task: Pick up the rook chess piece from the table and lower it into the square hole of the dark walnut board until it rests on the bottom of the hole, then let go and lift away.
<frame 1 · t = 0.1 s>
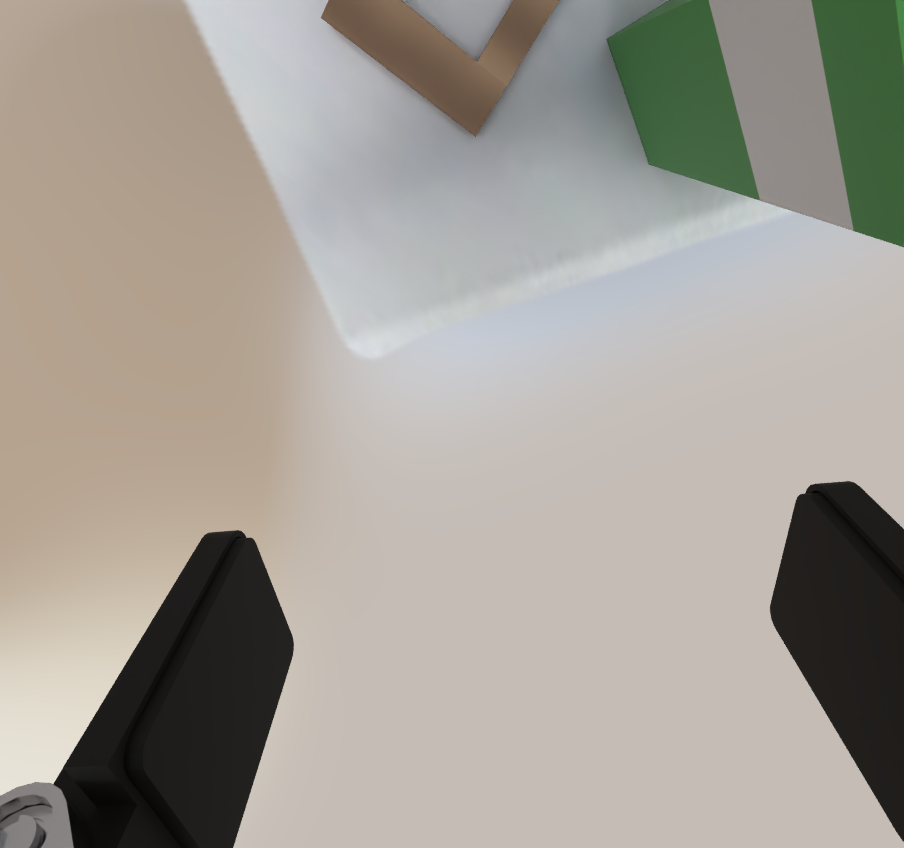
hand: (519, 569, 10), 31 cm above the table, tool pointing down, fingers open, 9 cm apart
hardback book: (778, 16, 31), on the table
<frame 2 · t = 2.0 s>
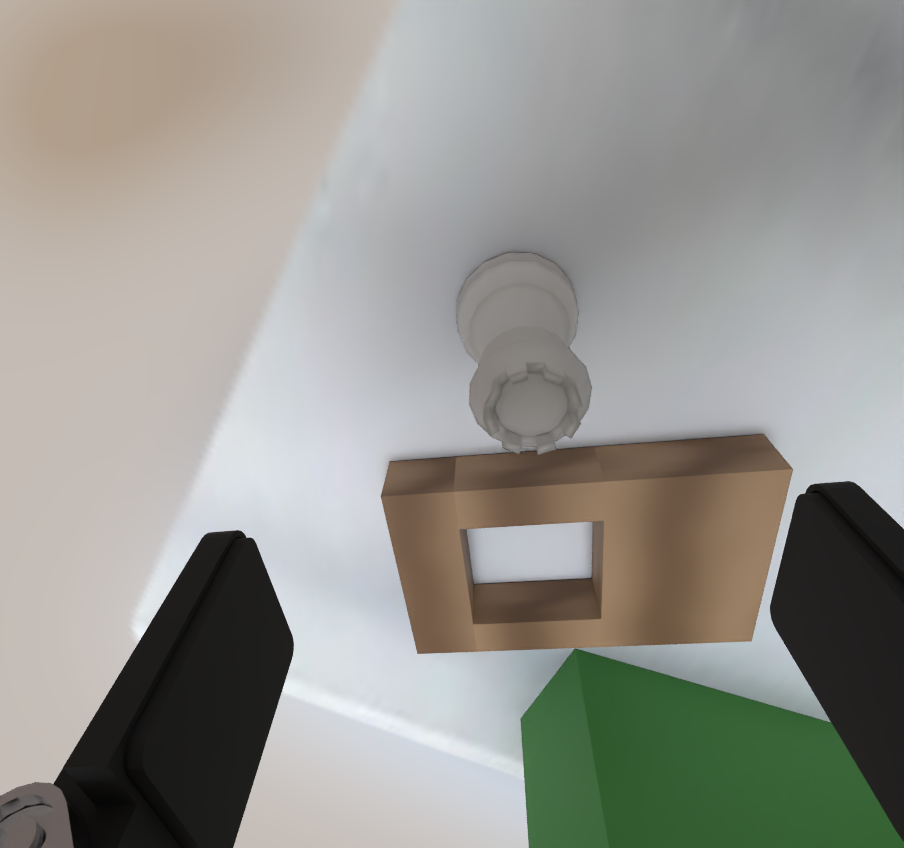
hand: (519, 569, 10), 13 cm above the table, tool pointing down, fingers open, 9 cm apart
socket board: (571, 535, 26), on the table
rook chess piece: (514, 307, 21), on the table
hardback book: (676, 718, 34), on the table
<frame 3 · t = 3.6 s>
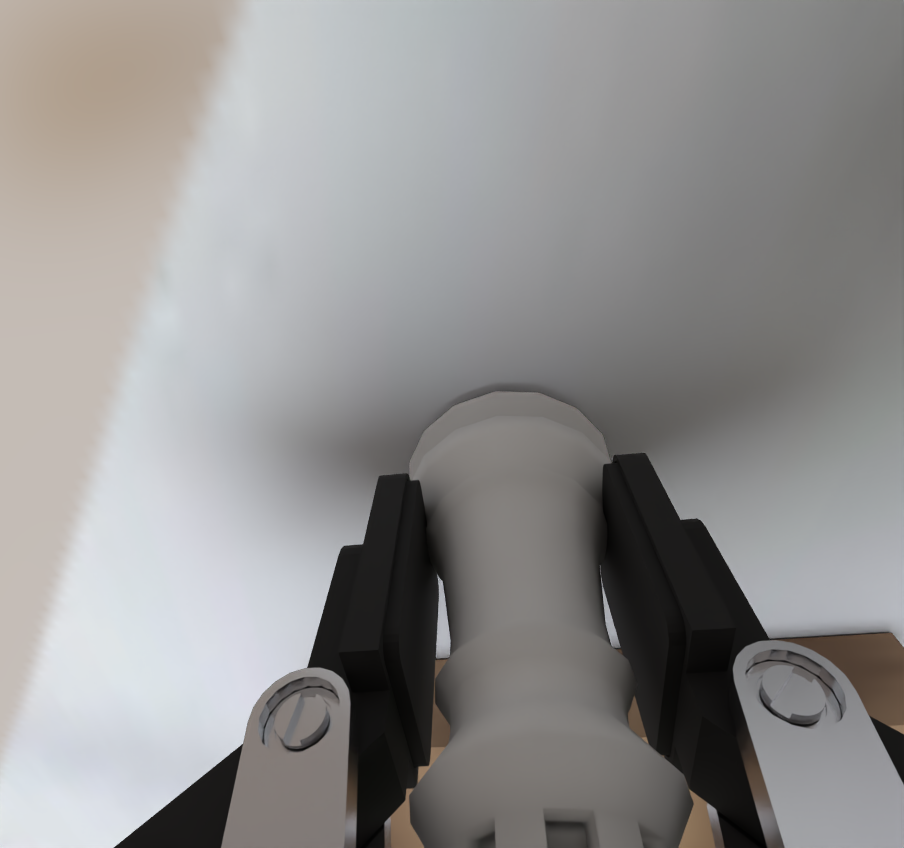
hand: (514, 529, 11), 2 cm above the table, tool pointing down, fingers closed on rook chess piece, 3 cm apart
socket board: (592, 750, 18), on the table
rook chess piece: (507, 463, 13), on the table, touching gripper
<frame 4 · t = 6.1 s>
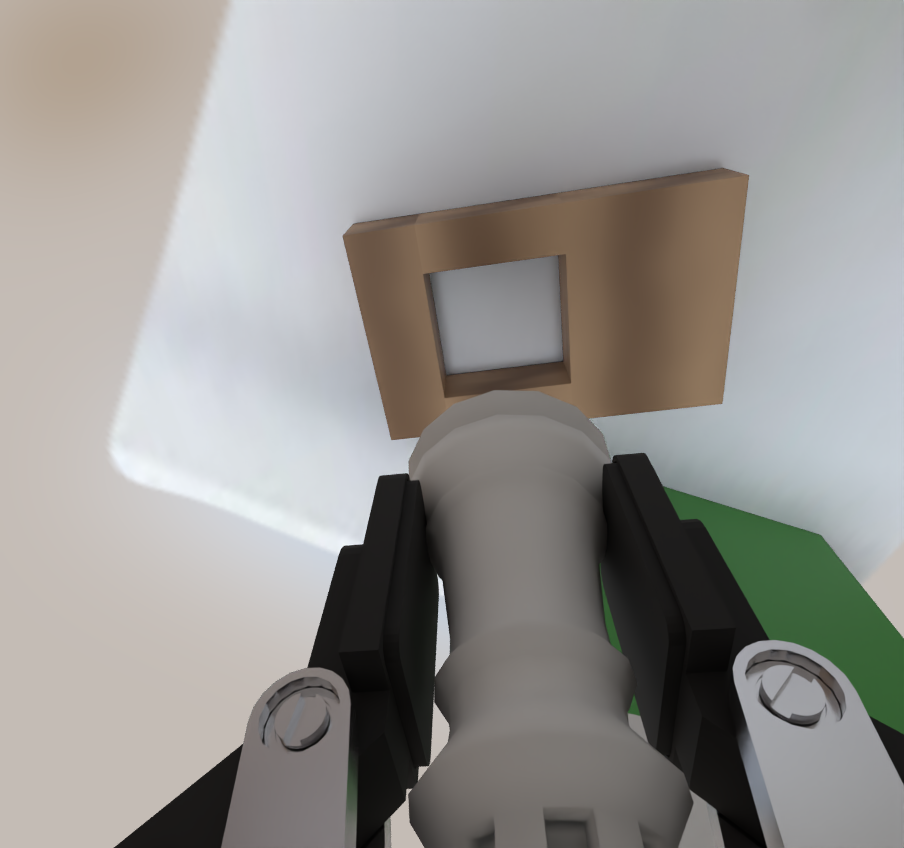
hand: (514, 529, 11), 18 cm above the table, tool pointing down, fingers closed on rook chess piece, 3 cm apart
socket board: (539, 307, 26), on the table
rook chess piece: (506, 462, 13), point 15 cm above the table, touching gripper
hardback book: (658, 537, 34), on the table
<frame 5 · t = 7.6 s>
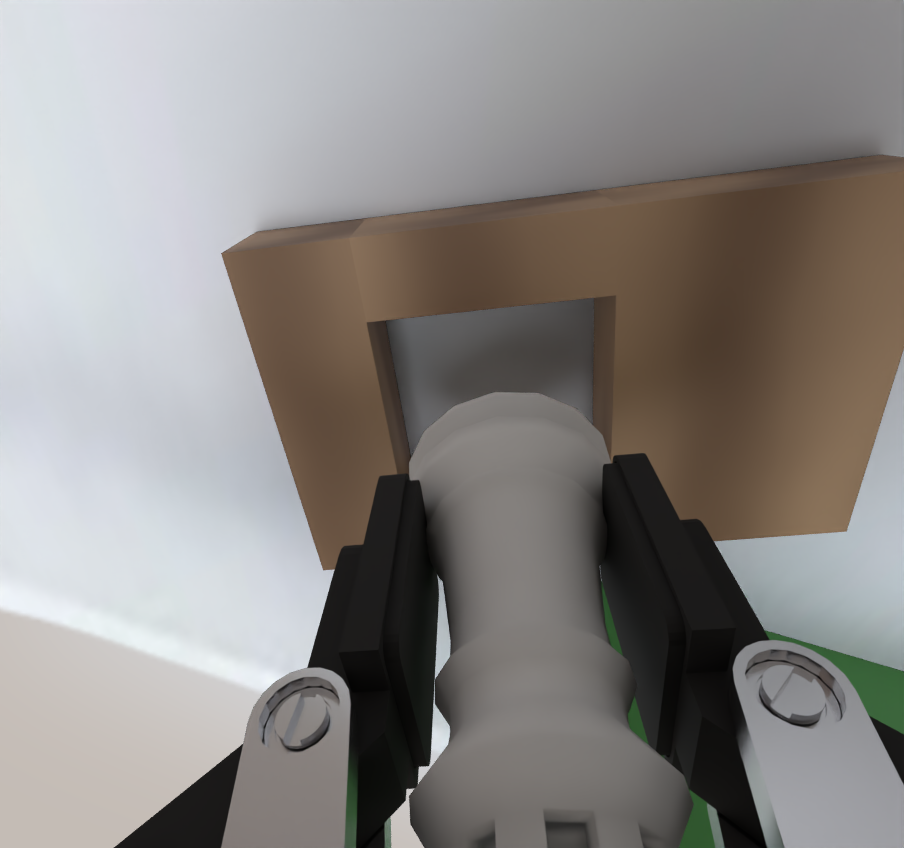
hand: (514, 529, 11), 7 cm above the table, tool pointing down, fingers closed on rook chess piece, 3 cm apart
socket board: (560, 370, 17), on the table
rook chess piece: (507, 463, 13), point 5 cm above the table, touching gripper
hardback book: (709, 679, 24), on the table
when the fingers open (3 cm above the table, at t = 8.7 s): rook chess piece drops 1 cm, resting in socket board.
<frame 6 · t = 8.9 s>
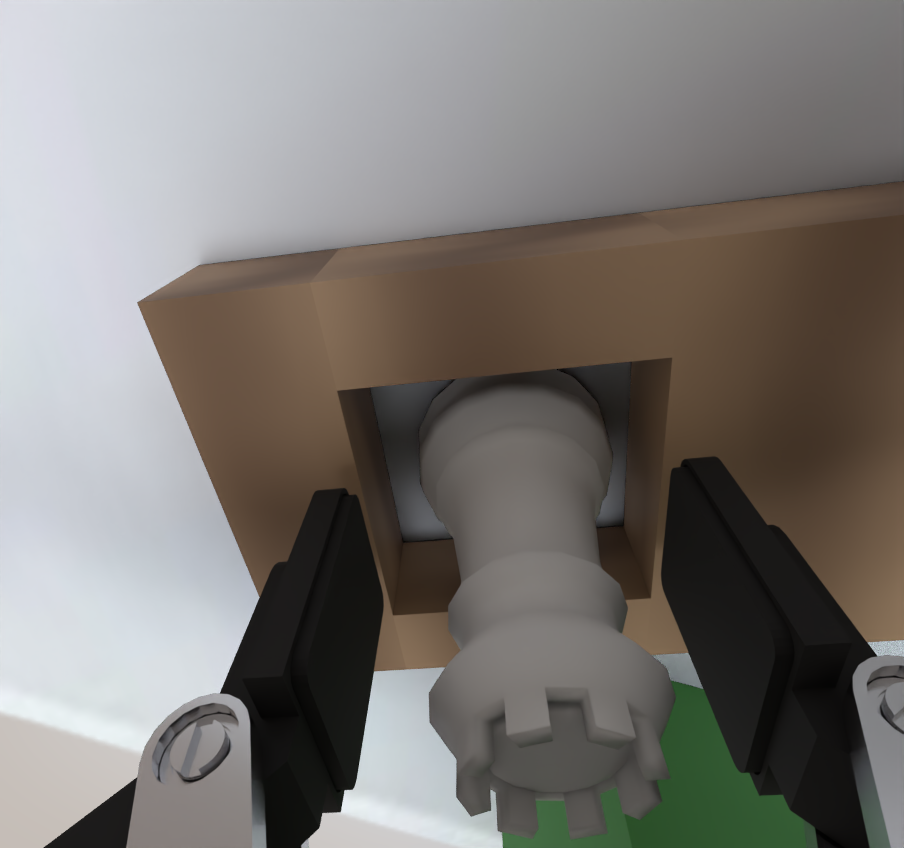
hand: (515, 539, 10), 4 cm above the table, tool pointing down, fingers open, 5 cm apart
socket board: (586, 434, 13), on the table
rook chess piece: (509, 432, 14), resting in socket board
hardback book: (750, 768, 21), on the table
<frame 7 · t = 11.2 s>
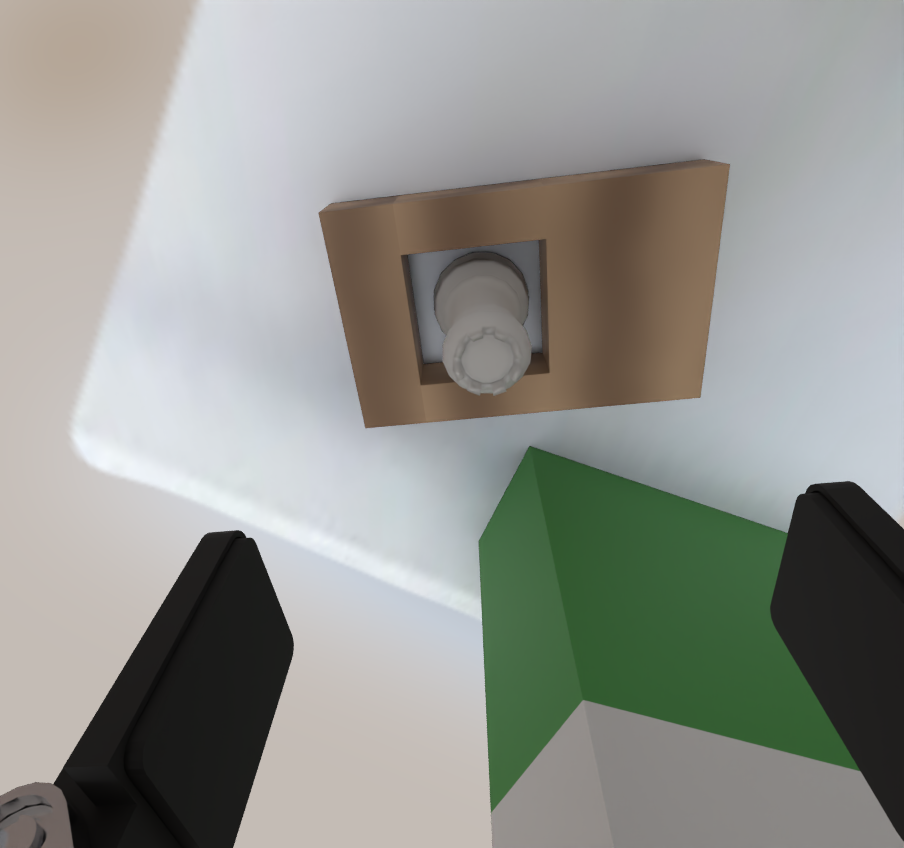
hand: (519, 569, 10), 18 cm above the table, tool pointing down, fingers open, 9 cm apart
socket board: (519, 295, 26), on the table
rook chess piece: (480, 296, 26), resting in socket board
hardback book: (634, 536, 34), on the table
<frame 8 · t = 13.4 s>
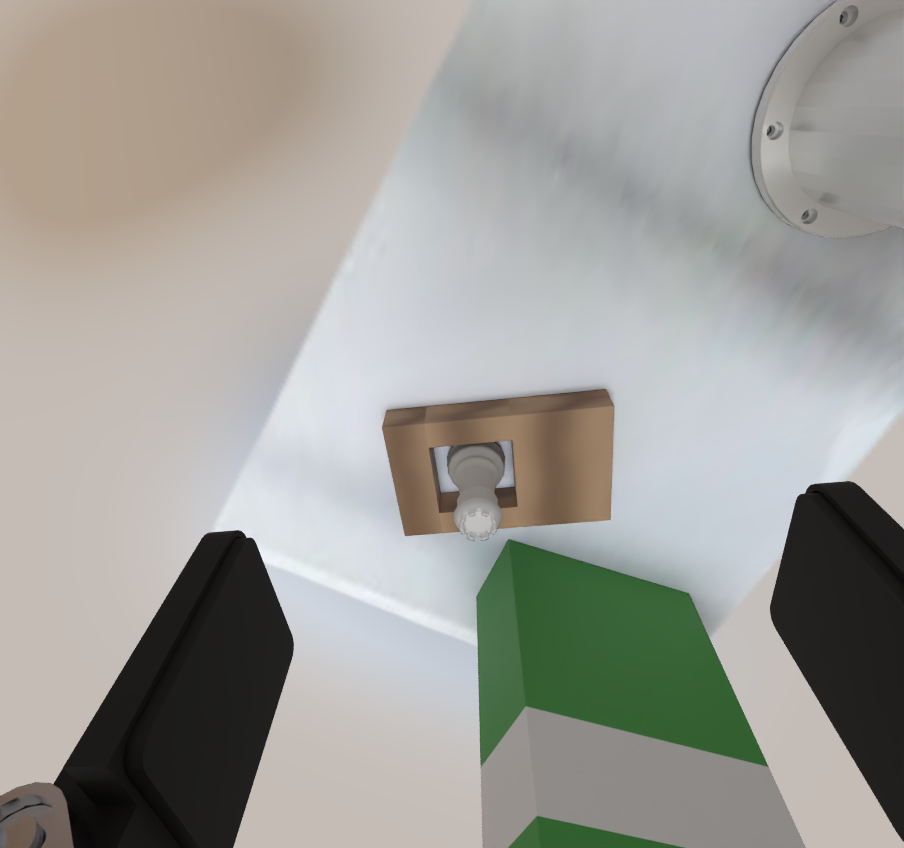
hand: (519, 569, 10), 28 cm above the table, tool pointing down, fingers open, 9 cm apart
socket board: (499, 457, 42), on the table
rook chess piece: (475, 456, 43), resting in socket board
hardback book: (581, 593, 50), on the table
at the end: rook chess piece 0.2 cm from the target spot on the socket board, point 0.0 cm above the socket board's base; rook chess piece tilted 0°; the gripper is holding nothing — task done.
